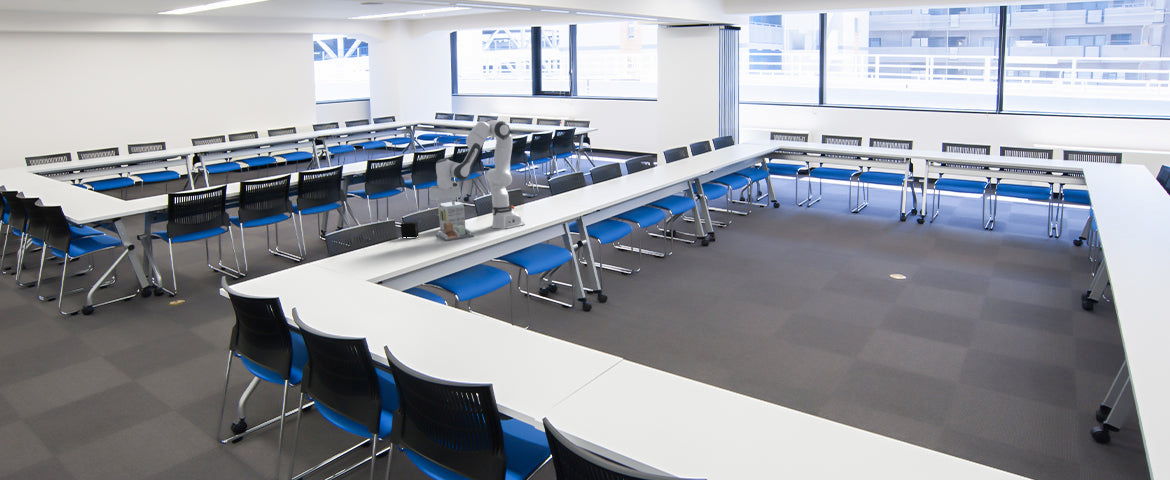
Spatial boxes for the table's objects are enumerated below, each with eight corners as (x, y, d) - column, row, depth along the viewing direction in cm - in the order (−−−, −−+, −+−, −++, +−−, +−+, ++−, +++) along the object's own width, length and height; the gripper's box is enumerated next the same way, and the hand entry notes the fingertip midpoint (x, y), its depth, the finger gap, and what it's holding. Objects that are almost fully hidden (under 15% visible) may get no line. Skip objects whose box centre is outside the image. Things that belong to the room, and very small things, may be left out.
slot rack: (464, 231, 506) (463, 222, 504) (473, 236, 490) (473, 227, 489) (436, 235, 497) (435, 227, 495) (445, 241, 482) (444, 232, 480)
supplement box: (439, 229, 516) (437, 203, 511) (457, 225, 523) (454, 200, 519) (448, 232, 505) (446, 206, 501) (466, 228, 513) (464, 203, 508)
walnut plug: (453, 235, 490) (452, 223, 488) (447, 236, 488) (446, 224, 486) (450, 233, 495) (449, 221, 493) (444, 234, 493) (443, 222, 491)
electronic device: (416, 238, 493) (414, 223, 490) (401, 238, 495) (400, 223, 492) (418, 236, 497) (417, 221, 494) (404, 236, 499) (403, 221, 496)
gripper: (430, 187, 476) (432, 208, 479) (461, 183, 485) (463, 204, 489) (427, 185, 481) (429, 207, 484) (457, 181, 490) (459, 202, 494)
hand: (446, 205), depth 487 cm, fingers open, 8 cm apart
